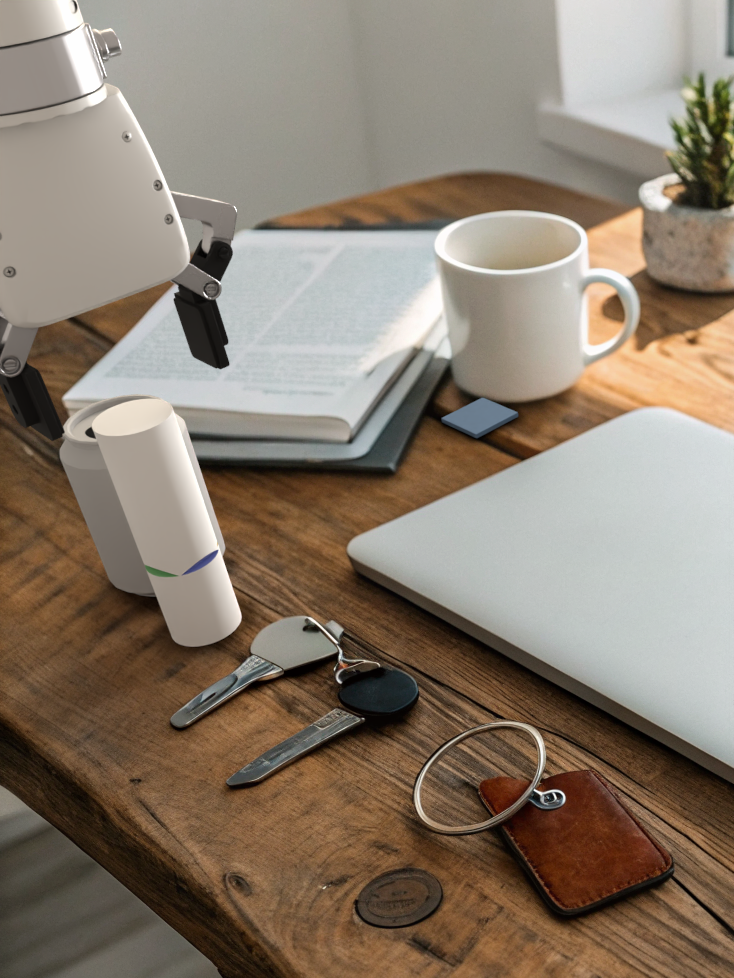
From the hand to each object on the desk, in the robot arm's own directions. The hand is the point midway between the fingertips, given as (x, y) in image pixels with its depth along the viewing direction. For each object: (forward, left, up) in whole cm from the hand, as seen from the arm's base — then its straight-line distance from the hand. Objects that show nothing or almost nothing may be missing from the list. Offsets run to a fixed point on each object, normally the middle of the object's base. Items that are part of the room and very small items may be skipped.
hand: (133, 395), depth 65 cm
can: (+1, +8, -17) cm, 18 cm away
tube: (0, 0, -17) cm, 17 cm away
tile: (+28, +7, -16) cm, 33 cm away
